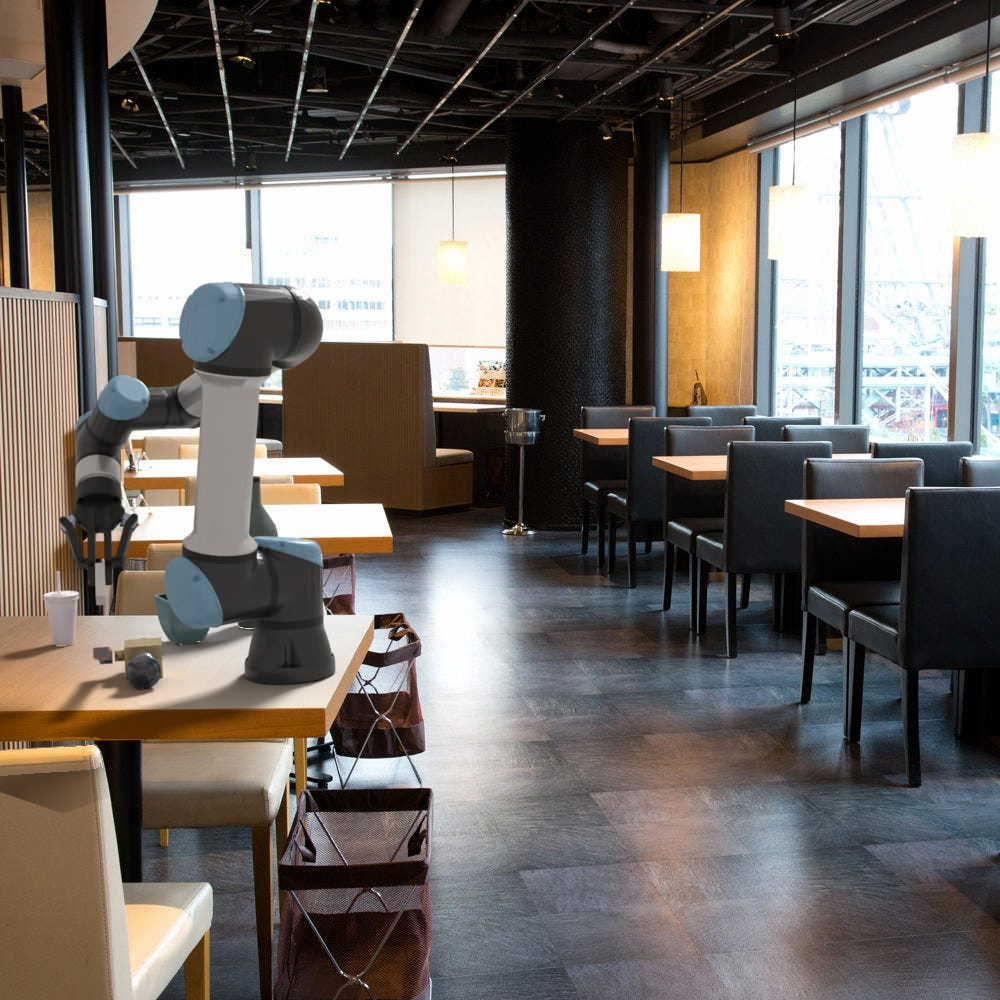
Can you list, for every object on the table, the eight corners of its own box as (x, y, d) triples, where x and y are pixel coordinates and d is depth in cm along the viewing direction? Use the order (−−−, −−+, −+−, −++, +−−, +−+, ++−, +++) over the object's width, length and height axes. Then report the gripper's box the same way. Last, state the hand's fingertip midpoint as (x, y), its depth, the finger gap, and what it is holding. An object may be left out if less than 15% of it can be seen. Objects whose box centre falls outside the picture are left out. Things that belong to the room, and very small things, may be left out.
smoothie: (38, 646, 224) (34, 573, 223) (61, 639, 230) (57, 567, 229) (66, 649, 222) (62, 574, 221) (88, 641, 228) (85, 568, 227)
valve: (116, 670, 205) (114, 639, 205) (162, 667, 208) (161, 636, 207) (114, 691, 192) (112, 658, 191) (163, 687, 194) (162, 654, 194)
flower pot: (170, 649, 221) (168, 601, 220) (155, 640, 228) (153, 594, 227) (216, 643, 226) (214, 596, 225) (200, 634, 233) (198, 589, 232)
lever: (98, 650, 202) (92, 645, 184) (113, 649, 202) (108, 643, 184) (99, 664, 202) (93, 660, 183) (113, 663, 202) (109, 659, 184)
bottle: (227, 625, 241) (221, 477, 238) (267, 618, 247) (262, 474, 244) (249, 633, 234) (244, 480, 231) (290, 626, 240) (285, 476, 237)
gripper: (138, 499, 213) (143, 610, 199) (60, 503, 209) (59, 616, 195) (137, 472, 207) (142, 584, 193) (56, 475, 203) (56, 589, 189)
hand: (100, 600), depth 194 cm, fingers closed
